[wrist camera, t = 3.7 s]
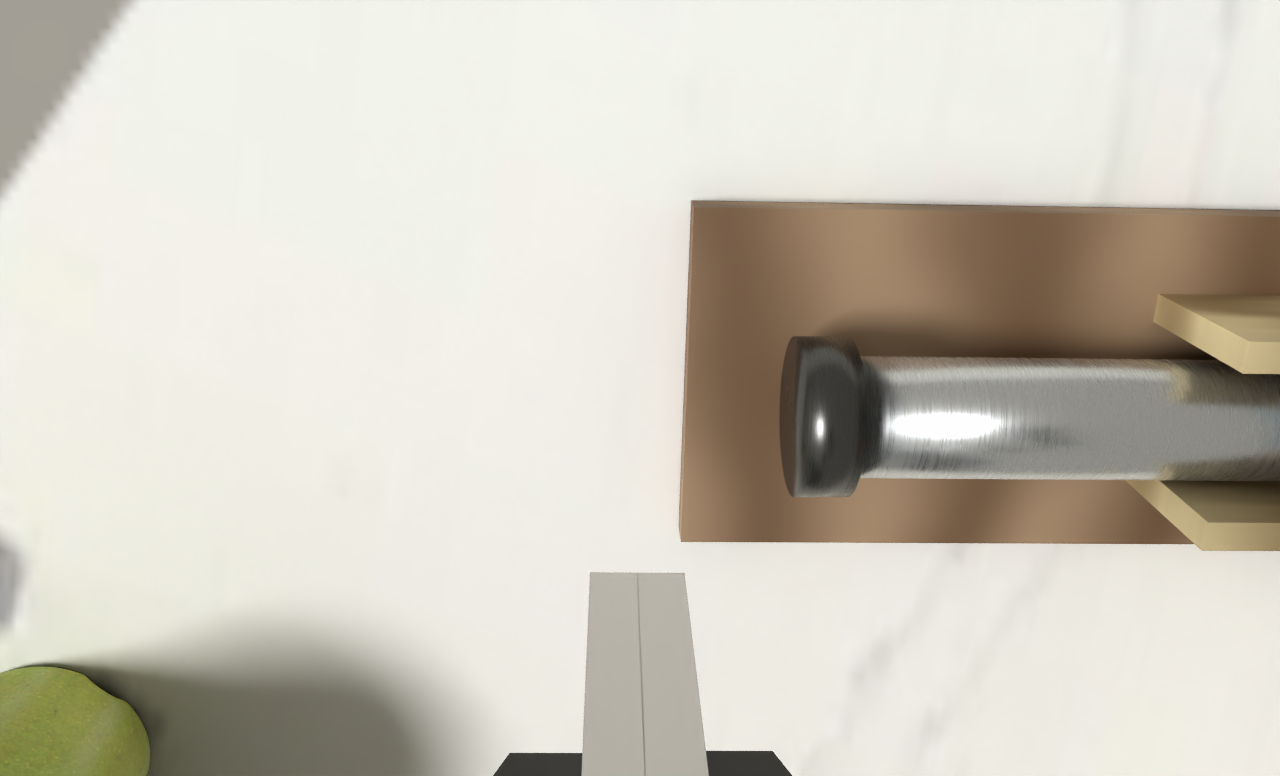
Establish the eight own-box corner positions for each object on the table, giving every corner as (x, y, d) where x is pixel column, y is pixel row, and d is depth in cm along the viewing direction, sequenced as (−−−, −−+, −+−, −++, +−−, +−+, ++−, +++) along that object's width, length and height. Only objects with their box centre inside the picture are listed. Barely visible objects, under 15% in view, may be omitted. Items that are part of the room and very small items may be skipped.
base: (678, 525, 32) (700, 684, 25) (691, 200, 29) (721, 269, 21) (1620, 531, 33) (1917, 684, 26) (1741, 217, 30) (2124, 289, 22)
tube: (775, 457, 30) (801, 525, 26) (785, 316, 29) (814, 366, 25) (1399, 461, 31) (1516, 529, 27) (1439, 324, 29) (1569, 374, 25)
